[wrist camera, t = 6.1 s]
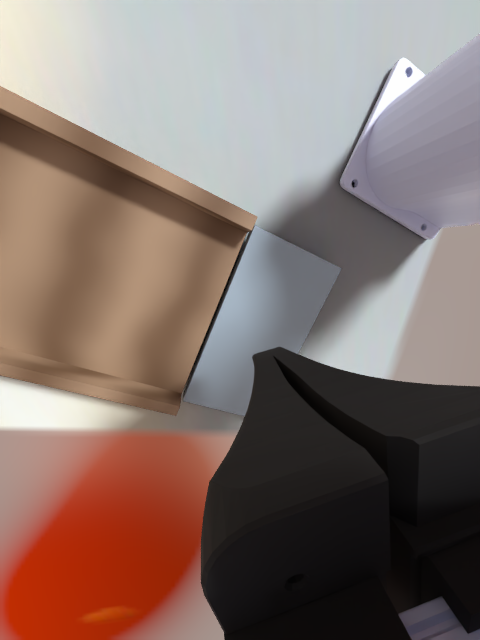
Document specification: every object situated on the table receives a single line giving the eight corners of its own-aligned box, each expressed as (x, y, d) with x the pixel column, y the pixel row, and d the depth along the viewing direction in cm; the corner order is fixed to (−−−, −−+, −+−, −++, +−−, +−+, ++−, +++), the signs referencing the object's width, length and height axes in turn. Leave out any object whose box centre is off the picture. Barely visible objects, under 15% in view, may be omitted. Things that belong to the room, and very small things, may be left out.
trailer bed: (246, 223, 16) (264, 212, 12) (180, 387, 19) (173, 431, 15) (-25, 90, 12) (-168, -11, 7) (-56, 324, 15) (-172, 359, 10)
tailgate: (250, 227, 16) (331, 267, 18) (184, 390, 19) (259, 409, 21) (254, 225, 15) (341, 268, 16) (182, 400, 17) (263, 420, 19)
